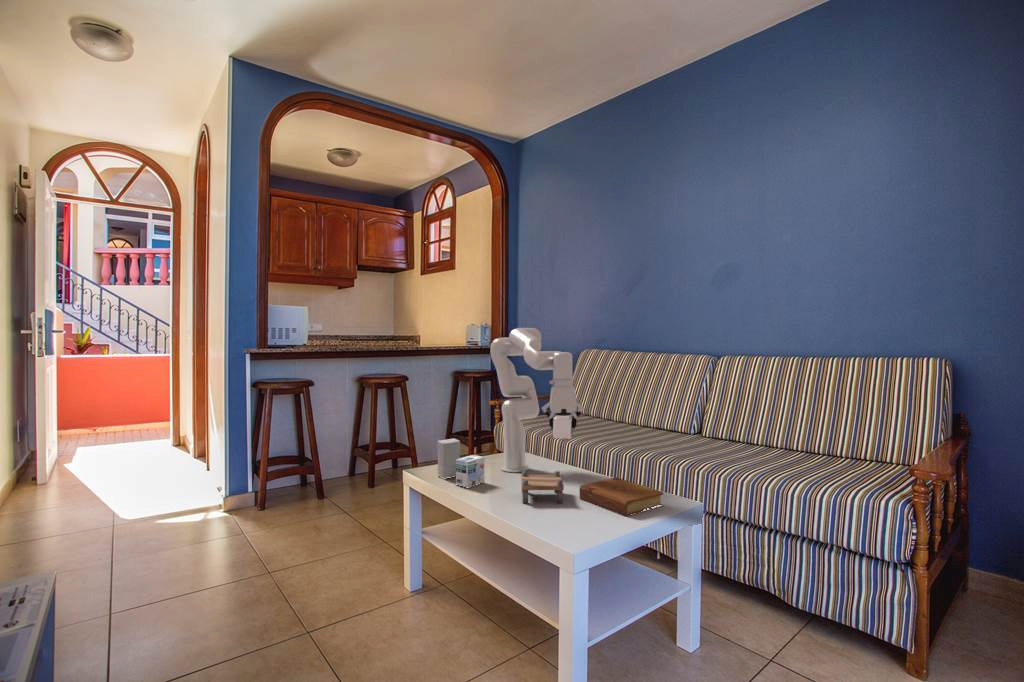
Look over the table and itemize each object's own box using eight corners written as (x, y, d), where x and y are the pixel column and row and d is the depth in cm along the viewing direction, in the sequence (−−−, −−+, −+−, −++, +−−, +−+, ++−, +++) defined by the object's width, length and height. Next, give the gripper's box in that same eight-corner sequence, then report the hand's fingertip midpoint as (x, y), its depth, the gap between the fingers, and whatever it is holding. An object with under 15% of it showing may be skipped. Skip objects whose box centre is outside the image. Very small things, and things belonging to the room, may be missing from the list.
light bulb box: (467, 488, 207) (467, 461, 207) (455, 486, 212) (455, 459, 211) (485, 482, 216) (485, 456, 216) (472, 480, 220) (472, 454, 220)
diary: (579, 501, 194) (579, 485, 194) (616, 492, 204) (615, 477, 204) (625, 518, 175) (625, 501, 175) (663, 507, 185) (663, 491, 185)
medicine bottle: (571, 438, 203) (571, 407, 203) (553, 438, 204) (553, 407, 204) (572, 435, 210) (572, 405, 210) (554, 434, 211) (554, 404, 211)
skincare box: (454, 473, 230) (454, 437, 230) (461, 477, 224) (461, 440, 224) (436, 476, 226) (436, 439, 225) (443, 480, 220) (443, 442, 219)
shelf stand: (521, 491, 203) (521, 471, 203) (560, 491, 203) (560, 470, 203) (521, 504, 188) (521, 481, 188) (563, 504, 188) (563, 481, 188)
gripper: (541, 384, 203) (541, 430, 203) (586, 384, 203) (586, 429, 203) (539, 382, 210) (540, 426, 210) (583, 382, 211) (583, 426, 211)
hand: (562, 428), depth 207 cm, fingers closed on medicine bottle, 7 cm apart
